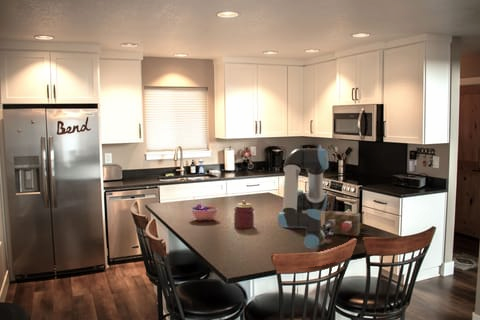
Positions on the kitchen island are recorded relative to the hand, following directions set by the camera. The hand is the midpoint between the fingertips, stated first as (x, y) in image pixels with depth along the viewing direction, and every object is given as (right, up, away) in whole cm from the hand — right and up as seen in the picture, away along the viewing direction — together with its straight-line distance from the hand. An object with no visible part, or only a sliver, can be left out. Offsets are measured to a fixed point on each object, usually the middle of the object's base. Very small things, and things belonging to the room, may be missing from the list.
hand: (329, 225), depth 257 cm
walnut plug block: (+10, -6, +11) cm, 16 cm away
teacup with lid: (+19, -5, +24) cm, 31 cm away
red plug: (+12, -2, +2) cm, 12 cm away
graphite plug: (+3, -2, +6) cm, 7 cm away
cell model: (-77, -3, +44) cm, 89 cm away
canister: (-50, -5, +24) cm, 56 cm away
